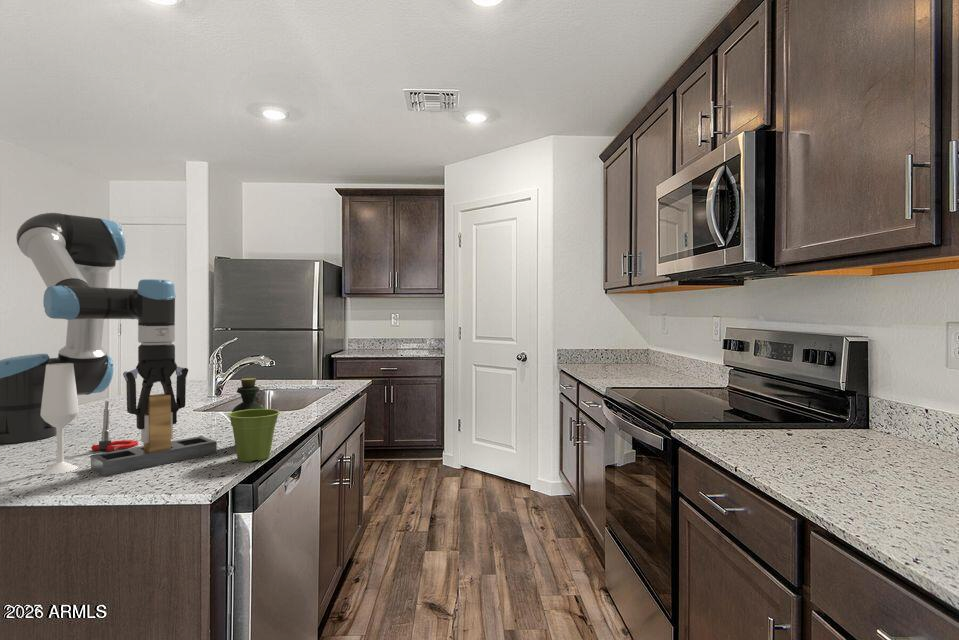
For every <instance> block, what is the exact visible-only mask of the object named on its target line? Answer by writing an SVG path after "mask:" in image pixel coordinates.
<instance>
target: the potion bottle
mask: <svg viewBox="0 0 959 640" xmlns="http://www.w3.org/2000/svg"><path fill="white" fill-rule="evenodd" d="M256 381H257V378H256V377H248V378H247V377H246V378H245V377H244V378H240V382H241V386H240V387H237V390H236V394H239V395H240V397H241V401H242V402H241V403H239V404H237V405H236V406H234V407H233V408H232V411H231V412H235V411H241V410H249V409H265V407H264V406H263V405H262V404H260V403H258V402H256V401H255V399H256V395H257V393H259V392H261V390H260V386H256Z"/></svg>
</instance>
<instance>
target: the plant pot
mask: <svg viewBox="0 0 959 640" xmlns="http://www.w3.org/2000/svg"><path fill="white" fill-rule="evenodd" d="M280 414H281V411H280V410H279V409H271V408H264V409H249V410H241V411H235V412H232V411H231V412H229V413H227V416H228V418H229V419H230V424H231V428H232V431H233V432H232V433H233V438H234V446H235V452H236V457H237V460H238V461H240V462H247V463H249V462H250V463H251V462H253V461H256V460H257V461H260V462H261V461H264V460H265V459H266V460H267V459H268V458H270V455H271V451H272V444H273V439H274V433H275V427H276V425H277V421H278V417H279V415H280Z"/></svg>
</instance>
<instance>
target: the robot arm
mask: <svg viewBox="0 0 959 640" xmlns="http://www.w3.org/2000/svg"><path fill="white" fill-rule="evenodd" d="M125 240H126V239H125V234H124V232H123V230H122V228H121V226H120V225H119V224H118V223H117V222H116V221H114V220H110V219H105V218H100V217H93V216H85V215H82V216H81V215H73V214H64V213H58V212H45V213H40V214H37V215H34V216H32V217H30V218H28V219H27V220H25V221H24V222H23V223H22V224H21V225H20V227H18V229H17V232H16V243H17V246H18V248H19V250H20V251H21V253H22V254H23V256H26V257H27V258H29V259H30V260H31V261H32V263H33V265H34V267H35V269H36V271H37V272H38V274H39V276H40V277H41V279H42V281H43V284H44V285H45V286H46V289H45V291H44V293H43V300H42V301H43V303H42V304H43V308H44V313H45V316H47V317H48V318H50V319H56V320H59V319H60V320H65V321H66V320H67V326H66V327H67V328H66V338H65V346H64V347H61V348H60V349H59V350H58V354H57V355H58V356H57V357H50V356H49V354H48V353H35V354H25V355H19V356H14V357H13V356H11V357H7V358H2V359H0V445H2V444H3V445H4V444H17V443H25V442H26V443H27V442H32V441H37V440H43V439H44V440H45V439H48V438H51V437H53V436H57V428H56V427H53V426H51V425H50V424H48V423H47V422H45V421H44V420H43V418H42V417H41V415H40V413H41V405H42V396H43V388H44V379H45V371H46V365H47V364H58V363H73V366H74V374H75V382H76V390H77V396H81V395H82V396H83V395H85V396H86V395H88V396H89V395H91V394H97V393H103V392H105V390H106V389H108V387H109V386H110V384H111V383H112V379H113V375H114V362H113V361H114V360H113V359H112V357H111V356H110V355H108V354H107V353H108V351H107V350H106V349H104V347H102V346H103V345H102V344H103V336H104V335H103V333H104V323H105V320H137V321H138V322H137V325H138V326H137V328H138V331H137V342H138V343H139V345H138V348H137V349H138V350H137V355H138V357H137V360H138V361H137V365H136V367H135V369H132V370H129V371H124V372H123V378H124V379H125V383H126V384H125V385H126V412H127V413H129V414H131V415H135V416H136V429H138V430H141V431H140V432H141V433H140V437H141V438H140V439H141V440H140V441H141V443H143V444H144V443H149V415H146V414H145V412H146V408H147V404H148V400H149V396H150V395H151V392H152V388H153V386H154V384H155V383H160V384H161V387H162V389H163V392H164V393H163V394H167V395H171V440H174V439H173V436H174V435H173V432H174V429H173V428H174V427H173V425H176V424H177V421H178V420H177V419H178V416H177V414H178V413H177V412H178V411H179V410H181V409H182V408H185V407H186V390H187V389H186V386H187V385H186V384H187V383H186V381H187V380H186V378H187V376H188V373H189V368H188V367H180V366H178V365H177V363H176V345H175V344H174V342H175V341H176V328H175V327H176V323H175V322H176V319H175V318H176V295H177V294H176V291H175V289H176V288H175V284H174V282H173V281H171V280H170V279H169V280H168V279H151V278H149V279H148V278H147V279H146V278H145V279H140V280H139V281H138V284H137V285H138V286H137V288H119V287H117V288H116V287H115V288H113V287H108V281H109V273H110V271H111V270H113V269H114V268H116V264H117V261H120V260H123V259H124V257H125V255H126V241H125ZM174 373H175V375H176V386H175V387H176V393H175V394H176V396H175V394H174V389H173V386H172V384H173V383H172V380H171V377H172V376H173V374H174ZM138 375H139V376H140V377H141V378H142V381H141V382H142V383H141V386H142V387H141V389H140V390H141V391H140V394H139V398H138V402H137V382H136V379H137V378H138ZM175 397H176V398H175Z"/></svg>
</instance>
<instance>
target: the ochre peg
mask: <svg viewBox="0 0 959 640" xmlns="http://www.w3.org/2000/svg"><path fill="white" fill-rule="evenodd" d="M145 414H146V415H149V443H143V446H144V451H146V452H153V451H159V450H164V449H170V448H171V441H172V439H171V395H167V394H164V393H156V394H150V396H149V400H148V404H147V408H146V412H145Z"/></svg>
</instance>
